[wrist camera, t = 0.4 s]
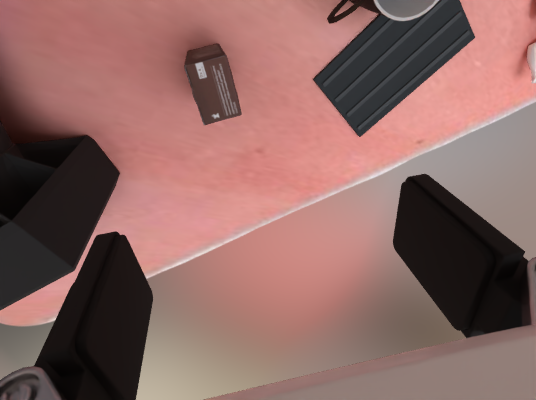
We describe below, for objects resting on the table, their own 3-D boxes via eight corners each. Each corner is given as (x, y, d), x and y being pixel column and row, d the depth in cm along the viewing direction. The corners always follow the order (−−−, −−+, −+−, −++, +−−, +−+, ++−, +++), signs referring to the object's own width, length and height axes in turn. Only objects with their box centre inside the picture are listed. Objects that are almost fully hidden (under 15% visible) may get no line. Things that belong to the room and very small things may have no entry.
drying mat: (313, 79, 43) (314, 80, 42) (438, -44, 38) (442, -45, 37) (358, 136, 49) (360, 137, 48) (473, 37, 44) (476, 37, 43)
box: (234, 89, 42) (243, 116, 32) (201, 97, 42) (200, 127, 32) (221, 40, 39) (227, 54, 29) (185, 49, 38) (179, 66, 28)
